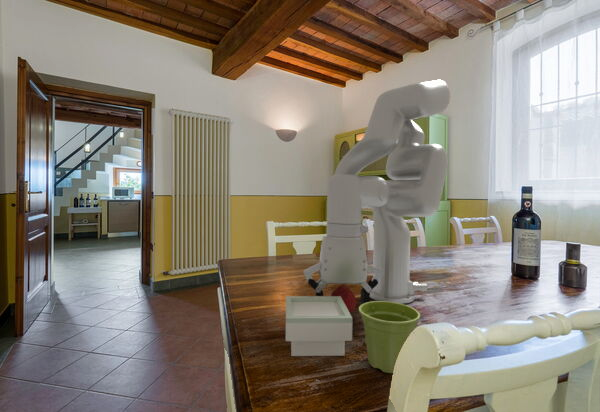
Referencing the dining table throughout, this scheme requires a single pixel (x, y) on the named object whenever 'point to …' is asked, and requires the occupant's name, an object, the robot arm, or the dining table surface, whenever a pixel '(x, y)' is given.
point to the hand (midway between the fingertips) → (342, 308)
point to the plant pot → (386, 331)
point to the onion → (346, 297)
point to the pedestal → (317, 325)
